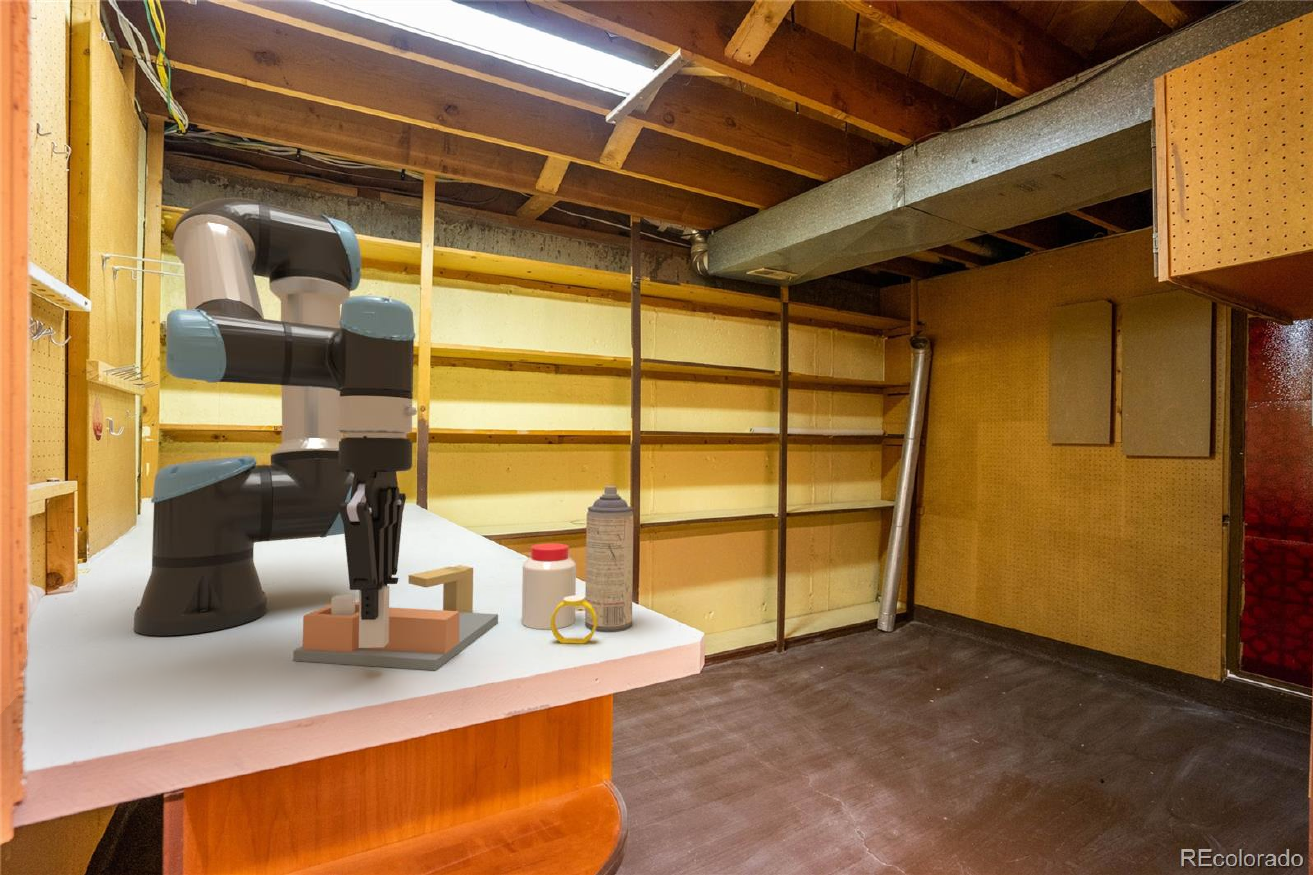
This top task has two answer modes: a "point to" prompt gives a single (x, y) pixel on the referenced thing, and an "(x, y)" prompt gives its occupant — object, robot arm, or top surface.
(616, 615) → the aerosol can
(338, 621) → the link
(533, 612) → the pill bottle
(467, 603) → the board
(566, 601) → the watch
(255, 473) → the robot arm
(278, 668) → the top surface
